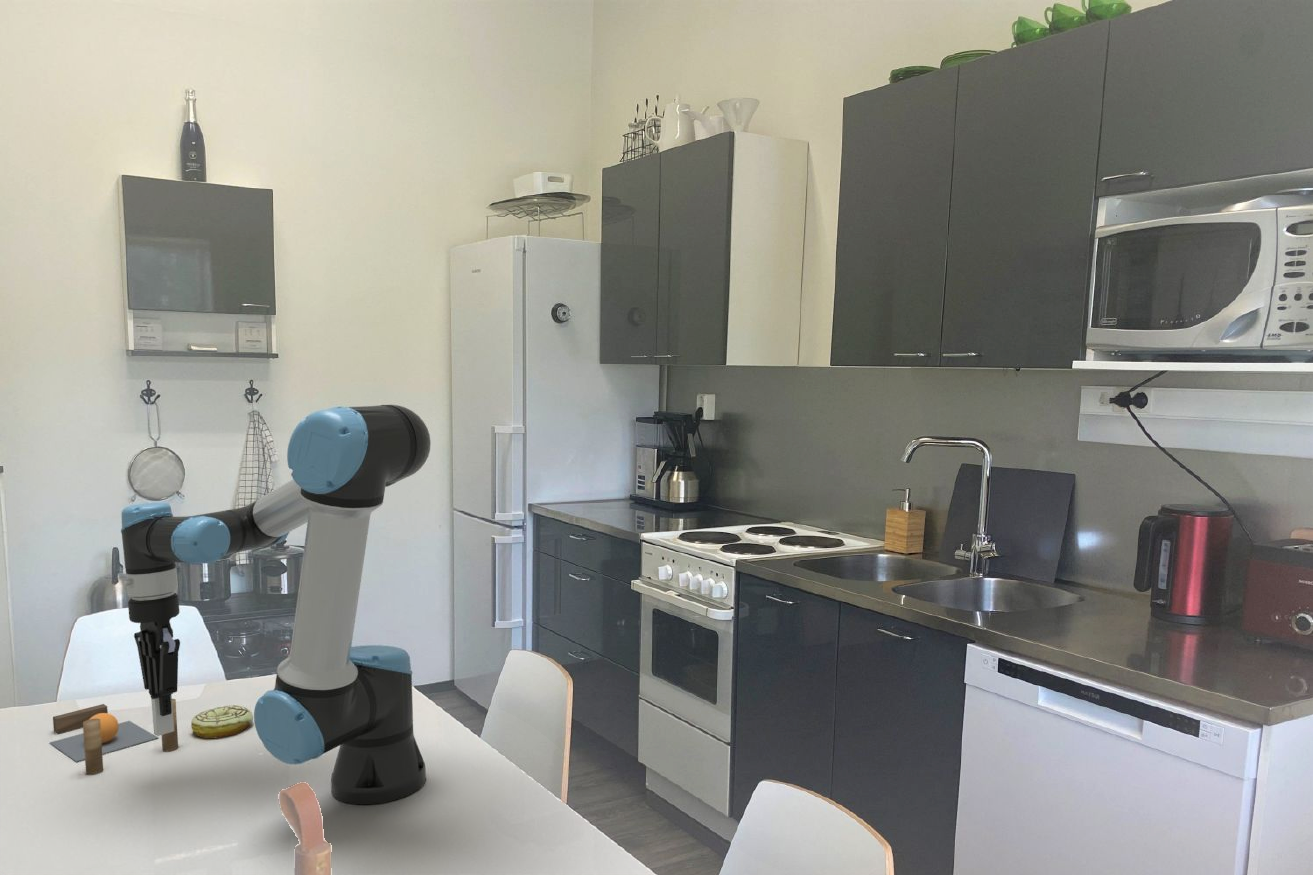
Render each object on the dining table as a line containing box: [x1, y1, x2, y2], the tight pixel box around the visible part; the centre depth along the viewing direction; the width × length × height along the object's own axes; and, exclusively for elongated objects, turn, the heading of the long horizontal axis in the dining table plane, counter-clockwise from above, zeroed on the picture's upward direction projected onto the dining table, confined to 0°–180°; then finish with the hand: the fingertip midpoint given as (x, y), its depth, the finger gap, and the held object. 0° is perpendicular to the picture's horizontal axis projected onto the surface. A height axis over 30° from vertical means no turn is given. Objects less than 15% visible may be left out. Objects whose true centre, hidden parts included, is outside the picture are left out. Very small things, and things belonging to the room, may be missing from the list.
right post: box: [161, 698, 179, 753], centre depth 175 cm, size 3×3×9 cm
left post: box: [82, 719, 104, 776], centre depth 165 cm, size 3×3×9 cm
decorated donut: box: [190, 704, 254, 739], centre depth 184 cm, size 10×11×4 cm
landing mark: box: [49, 720, 159, 763], centre depth 180 cm, size 14×14×1 cm
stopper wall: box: [52, 703, 109, 735], centre depth 187 cm, size 2×9×3 cm, turn 139°
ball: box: [90, 712, 119, 744], centre depth 178 cm, size 6×6×6 cm
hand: (164, 732), depth 161 cm, fingers closed
